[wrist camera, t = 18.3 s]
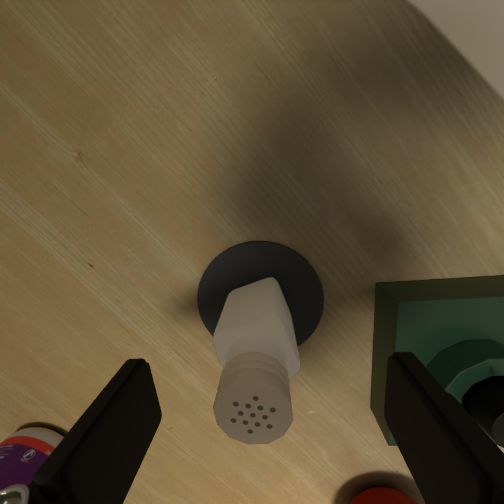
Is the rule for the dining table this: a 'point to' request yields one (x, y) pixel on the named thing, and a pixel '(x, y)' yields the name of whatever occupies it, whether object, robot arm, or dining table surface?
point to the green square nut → (439, 333)
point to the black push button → (487, 406)
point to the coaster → (257, 268)
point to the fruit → (382, 497)
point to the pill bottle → (25, 454)
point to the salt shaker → (255, 363)
